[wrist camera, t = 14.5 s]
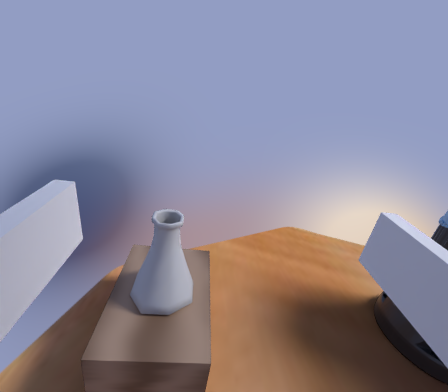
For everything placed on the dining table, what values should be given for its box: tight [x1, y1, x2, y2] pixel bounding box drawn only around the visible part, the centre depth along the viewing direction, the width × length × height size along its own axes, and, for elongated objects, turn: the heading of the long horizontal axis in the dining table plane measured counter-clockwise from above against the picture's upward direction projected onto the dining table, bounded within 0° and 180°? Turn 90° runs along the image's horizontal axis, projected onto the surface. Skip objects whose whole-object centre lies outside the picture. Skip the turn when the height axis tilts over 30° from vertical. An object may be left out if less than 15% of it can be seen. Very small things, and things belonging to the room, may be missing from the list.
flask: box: [130, 209, 193, 315], centre depth 26 cm, size 7×7×10 cm
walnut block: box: [81, 245, 211, 392], centre depth 30 cm, size 11×16×7 cm
